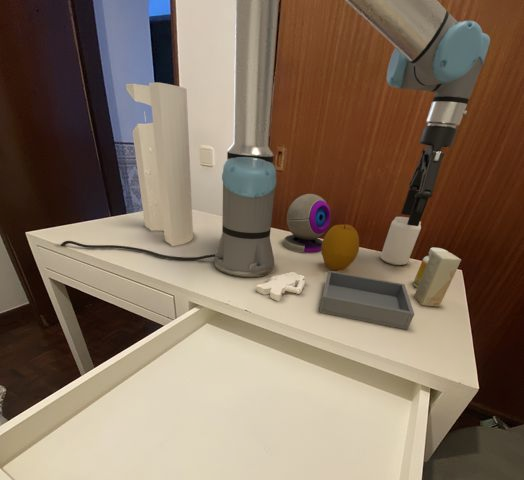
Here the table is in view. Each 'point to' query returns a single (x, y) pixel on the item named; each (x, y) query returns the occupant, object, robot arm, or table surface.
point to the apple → (340, 247)
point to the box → (436, 278)
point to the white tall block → (164, 161)
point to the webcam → (307, 223)
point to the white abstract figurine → (282, 285)
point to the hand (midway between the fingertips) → (408, 219)
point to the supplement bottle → (423, 265)
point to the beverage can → (400, 241)
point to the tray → (367, 300)
